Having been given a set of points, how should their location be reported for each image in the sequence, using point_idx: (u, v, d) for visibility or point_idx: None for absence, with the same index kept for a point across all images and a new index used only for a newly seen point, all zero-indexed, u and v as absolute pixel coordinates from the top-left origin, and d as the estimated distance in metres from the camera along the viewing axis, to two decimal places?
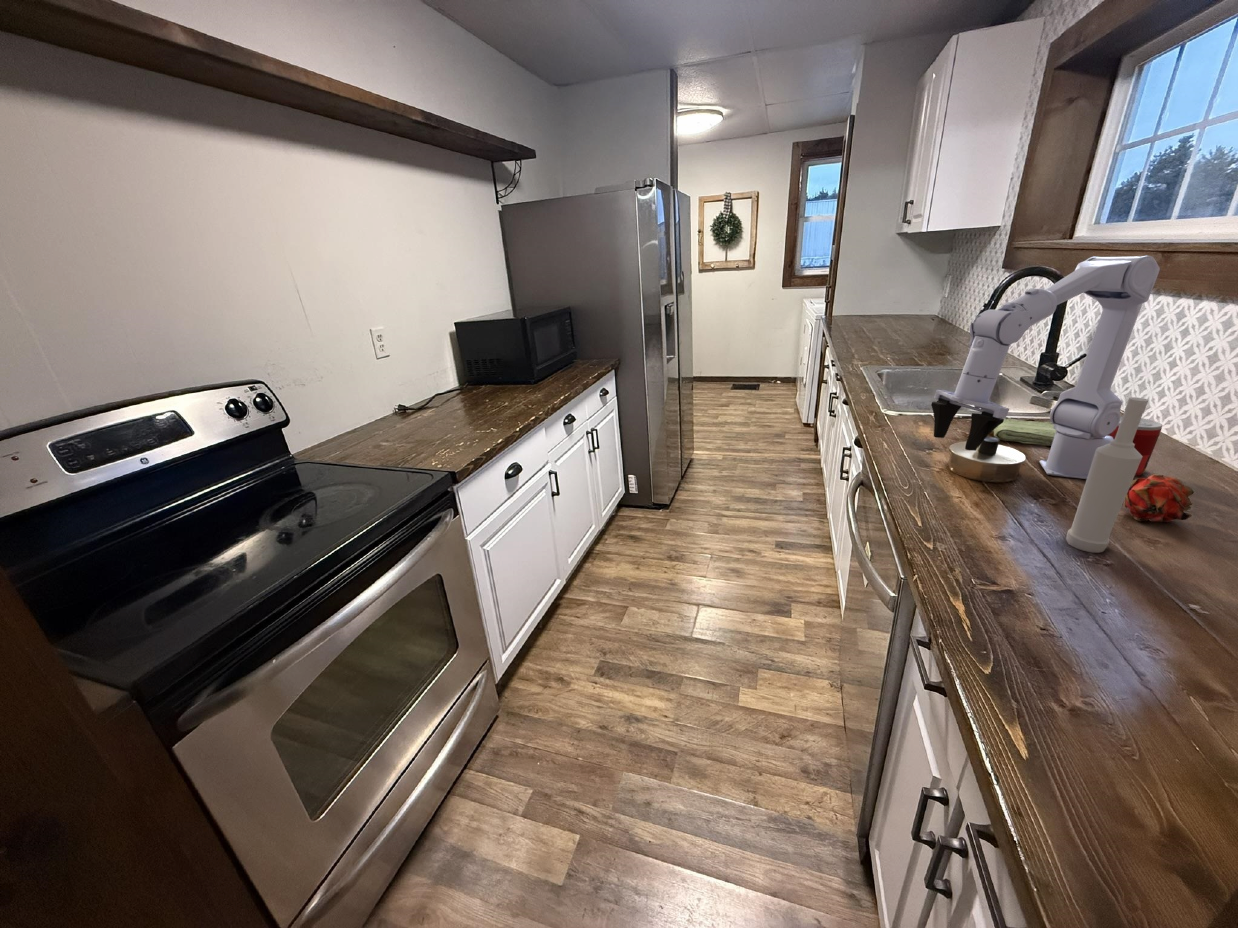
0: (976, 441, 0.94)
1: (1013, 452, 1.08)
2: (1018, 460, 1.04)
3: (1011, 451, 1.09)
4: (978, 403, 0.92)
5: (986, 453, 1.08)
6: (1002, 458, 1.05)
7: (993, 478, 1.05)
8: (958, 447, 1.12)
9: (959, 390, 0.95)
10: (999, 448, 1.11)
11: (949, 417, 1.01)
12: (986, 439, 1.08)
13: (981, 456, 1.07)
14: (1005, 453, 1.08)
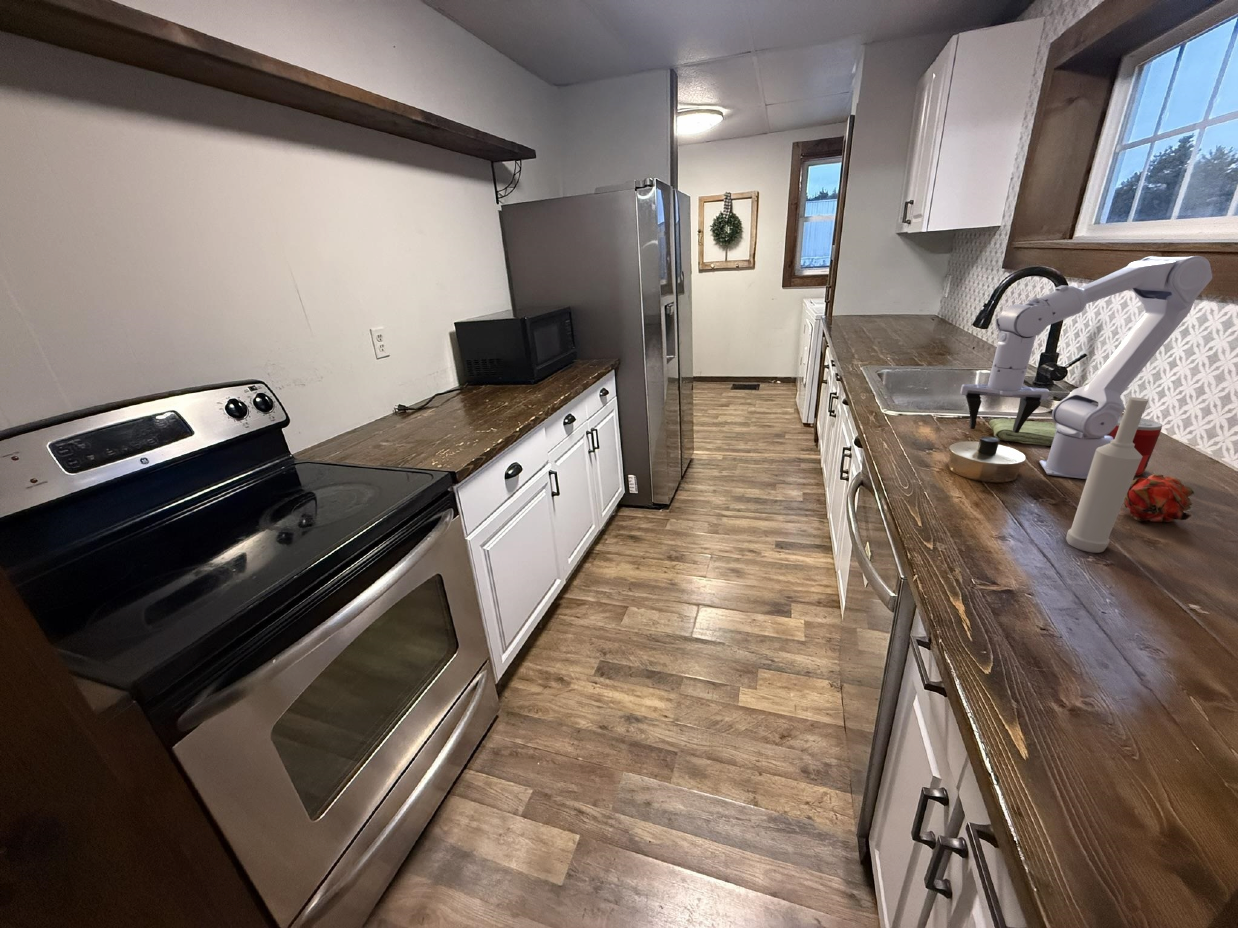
0: None
1: (1013, 452, 1.08)
2: (1018, 460, 1.04)
3: (1011, 451, 1.09)
4: (1027, 392, 1.00)
5: (986, 453, 1.08)
6: (1002, 458, 1.05)
7: (993, 478, 1.05)
8: (958, 447, 1.12)
9: (1005, 384, 1.00)
10: (999, 448, 1.11)
11: None
12: (986, 439, 1.08)
13: (981, 456, 1.07)
14: (1005, 453, 1.08)
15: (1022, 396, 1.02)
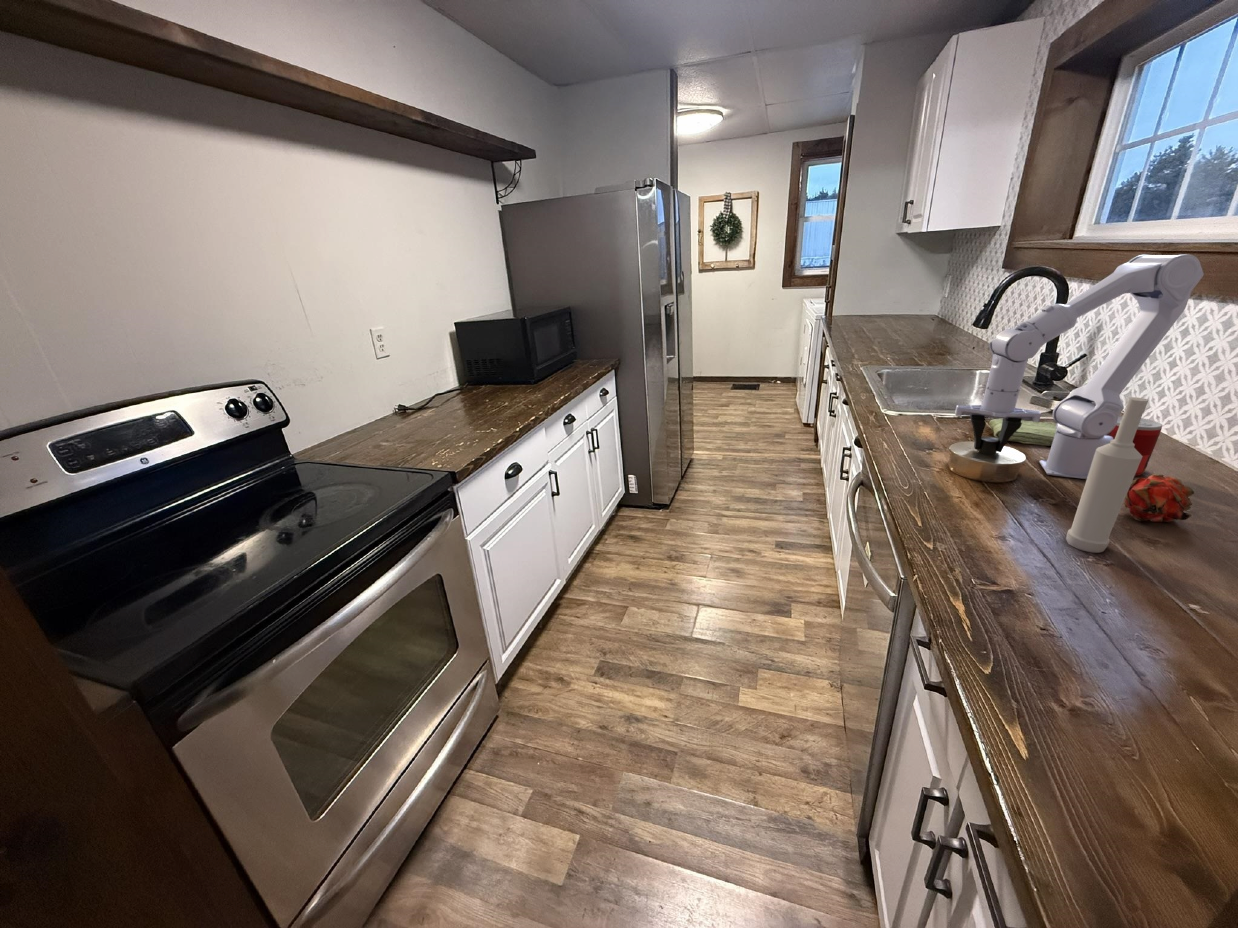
0: None
1: (1013, 452, 1.08)
2: (1018, 460, 1.04)
3: (1011, 451, 1.09)
4: (1019, 414, 1.02)
5: (986, 453, 1.08)
6: (1002, 458, 1.05)
7: (993, 478, 1.05)
8: (958, 447, 1.12)
9: (998, 406, 1.03)
10: None
11: None
12: (986, 439, 1.08)
13: (981, 456, 1.07)
14: (1006, 453, 1.08)
15: (1004, 417, 1.05)
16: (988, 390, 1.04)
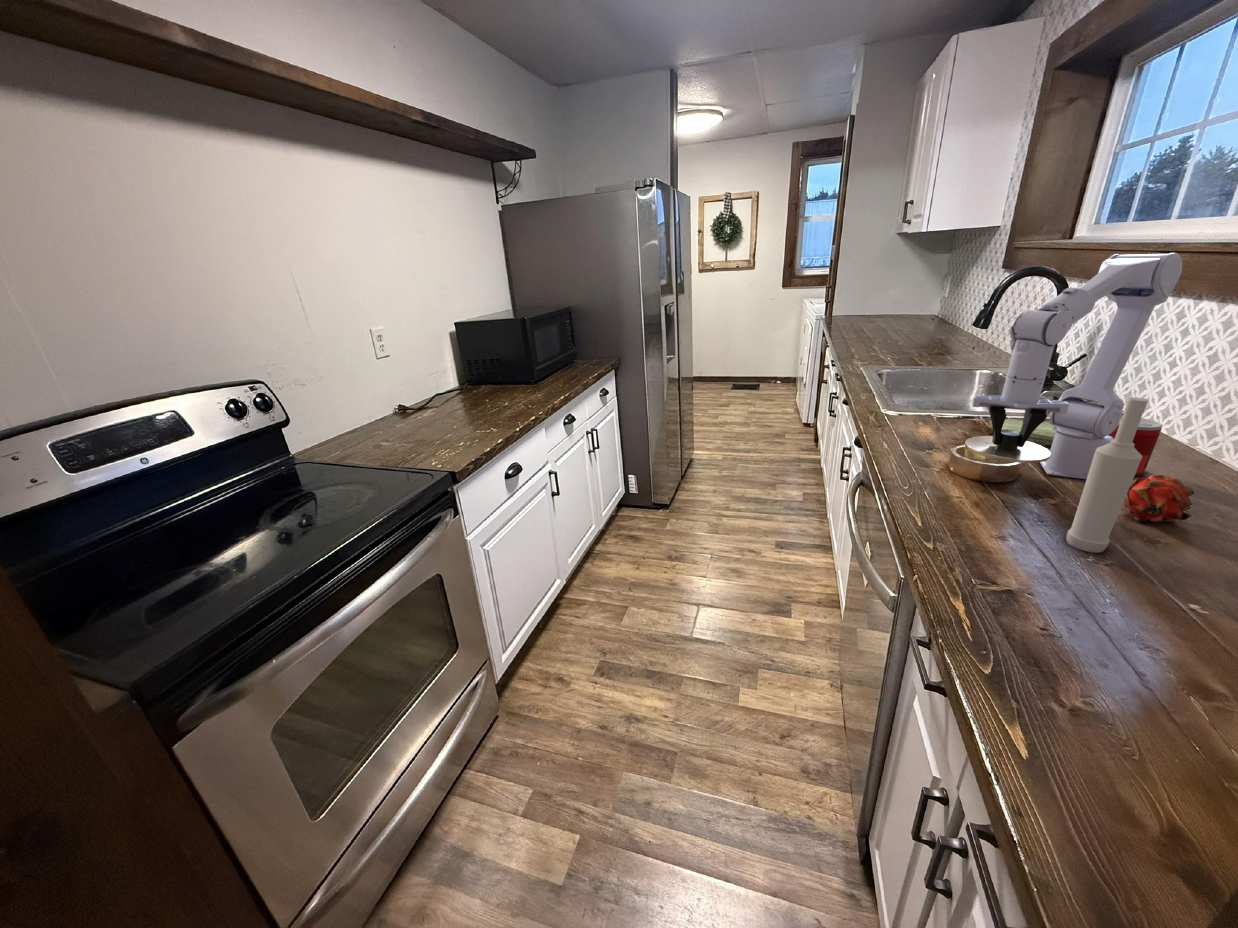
0: None
1: (1036, 447, 0.98)
2: (1043, 456, 0.94)
3: (1034, 446, 0.98)
4: (1044, 404, 0.92)
5: (1006, 448, 0.98)
6: (1024, 454, 0.95)
7: (993, 478, 1.05)
8: (975, 442, 1.02)
9: (1021, 396, 0.93)
10: None
11: None
12: (1006, 433, 0.98)
13: (1001, 452, 0.97)
14: (1028, 449, 0.97)
15: (1027, 408, 0.95)
16: (1009, 378, 0.94)
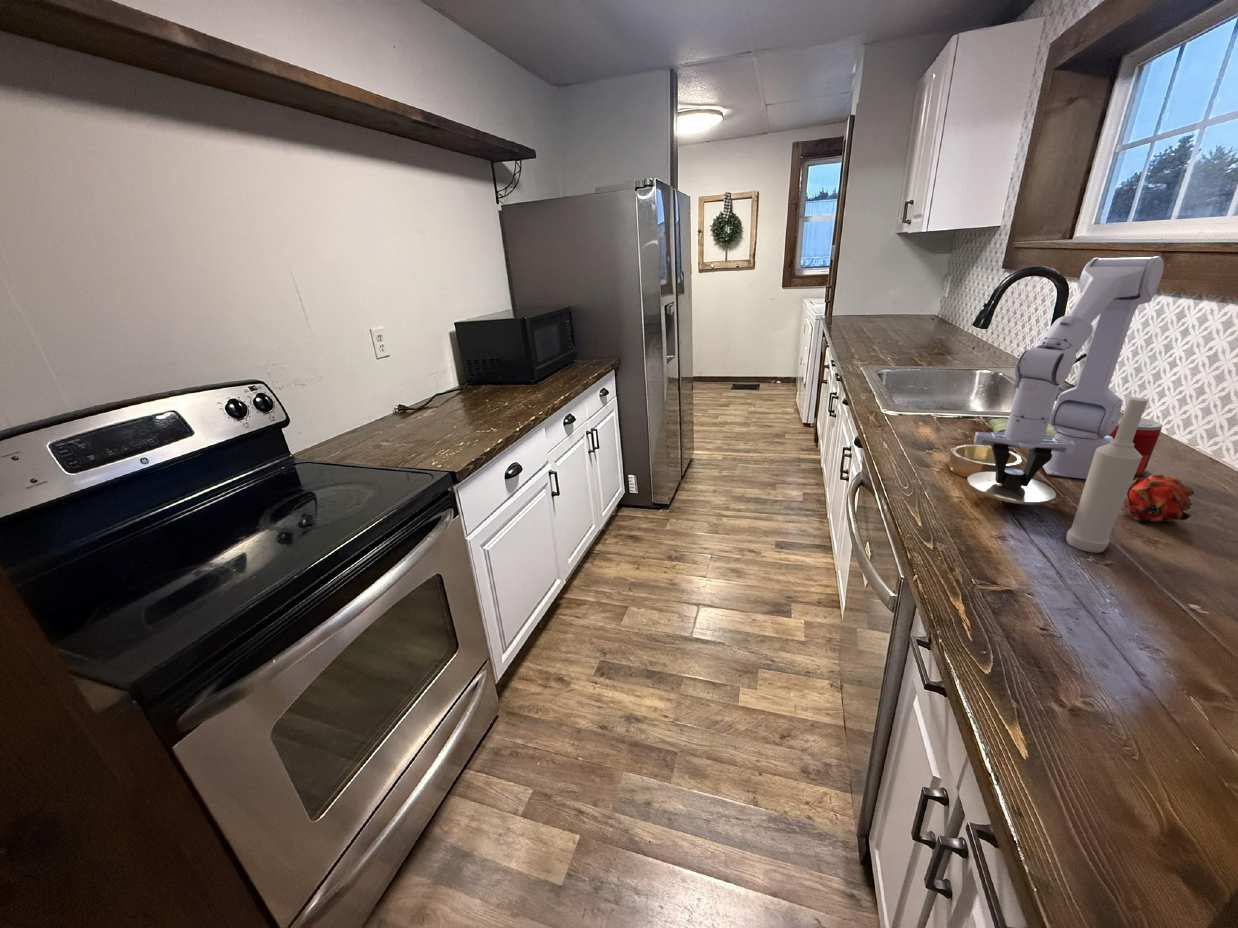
0: None
1: (1041, 486, 0.95)
2: (1048, 497, 0.91)
3: (1038, 485, 0.95)
4: (1049, 444, 0.89)
5: (1010, 488, 0.94)
6: (1029, 495, 0.92)
7: None
8: (977, 479, 0.99)
9: (1025, 436, 0.89)
10: None
11: None
12: (1010, 471, 0.94)
13: (1004, 491, 0.93)
14: (1032, 488, 0.94)
15: None
16: (1013, 417, 0.90)
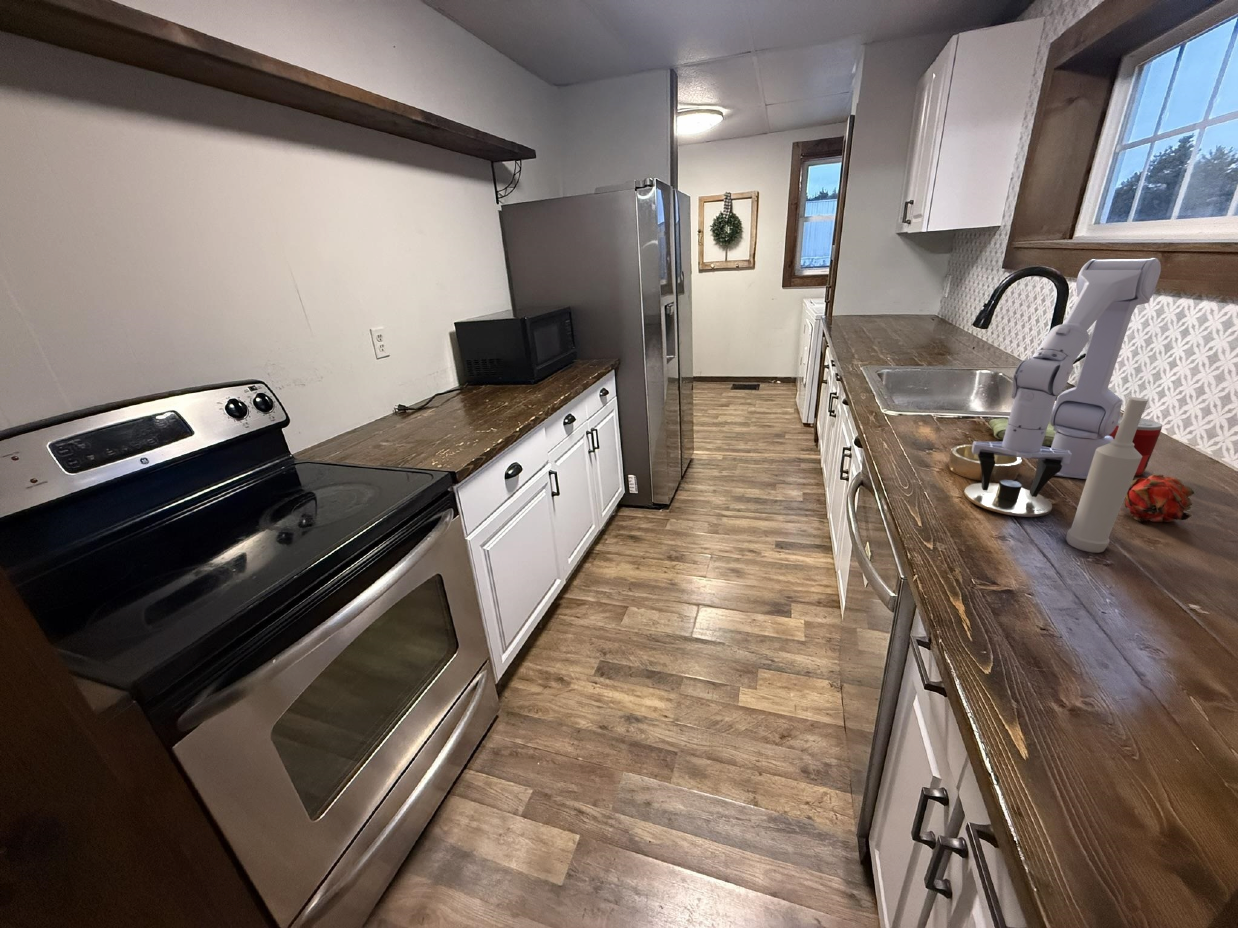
0: None
1: (1037, 498, 0.96)
2: (1044, 509, 0.92)
3: (1035, 497, 0.96)
4: (1046, 454, 0.90)
5: (1007, 499, 0.95)
6: (1025, 507, 0.93)
7: (993, 478, 1.05)
8: (974, 490, 1.00)
9: (1022, 445, 0.90)
10: (1021, 492, 0.98)
11: None
12: (1007, 483, 0.95)
13: (1001, 503, 0.94)
14: (1029, 500, 0.95)
15: (1041, 457, 0.92)
16: (1010, 426, 0.91)
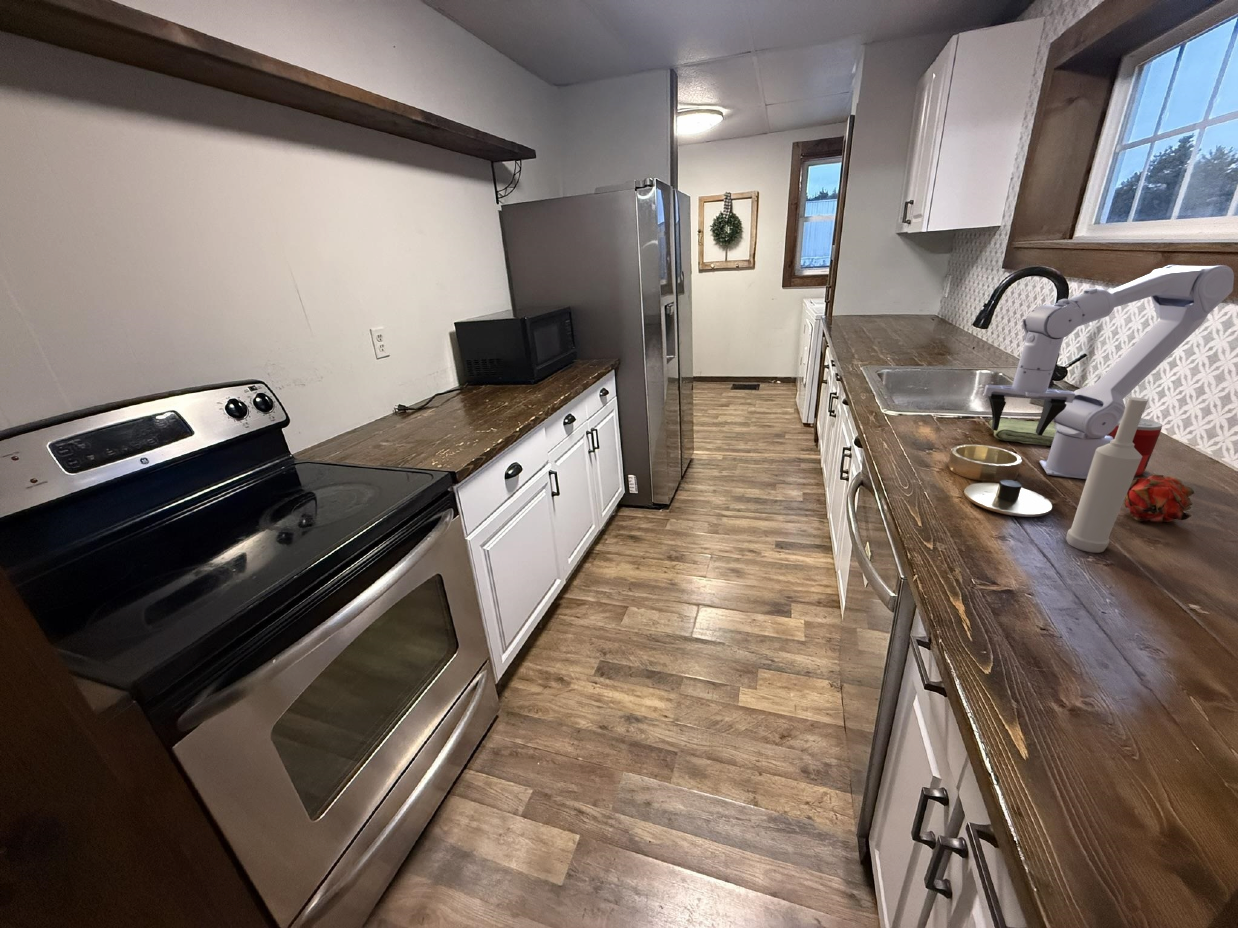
0: None
1: (1037, 498, 0.96)
2: (1044, 509, 0.92)
3: (1035, 497, 0.96)
4: (1053, 393, 0.99)
5: (1007, 499, 0.95)
6: (1025, 507, 0.93)
7: (993, 478, 1.05)
8: (974, 490, 1.00)
9: (1031, 386, 0.99)
10: (1021, 492, 0.98)
11: None
12: (1007, 483, 0.95)
13: (1001, 503, 0.94)
14: (1029, 500, 0.95)
15: (1047, 398, 1.01)
16: (1021, 369, 1.00)
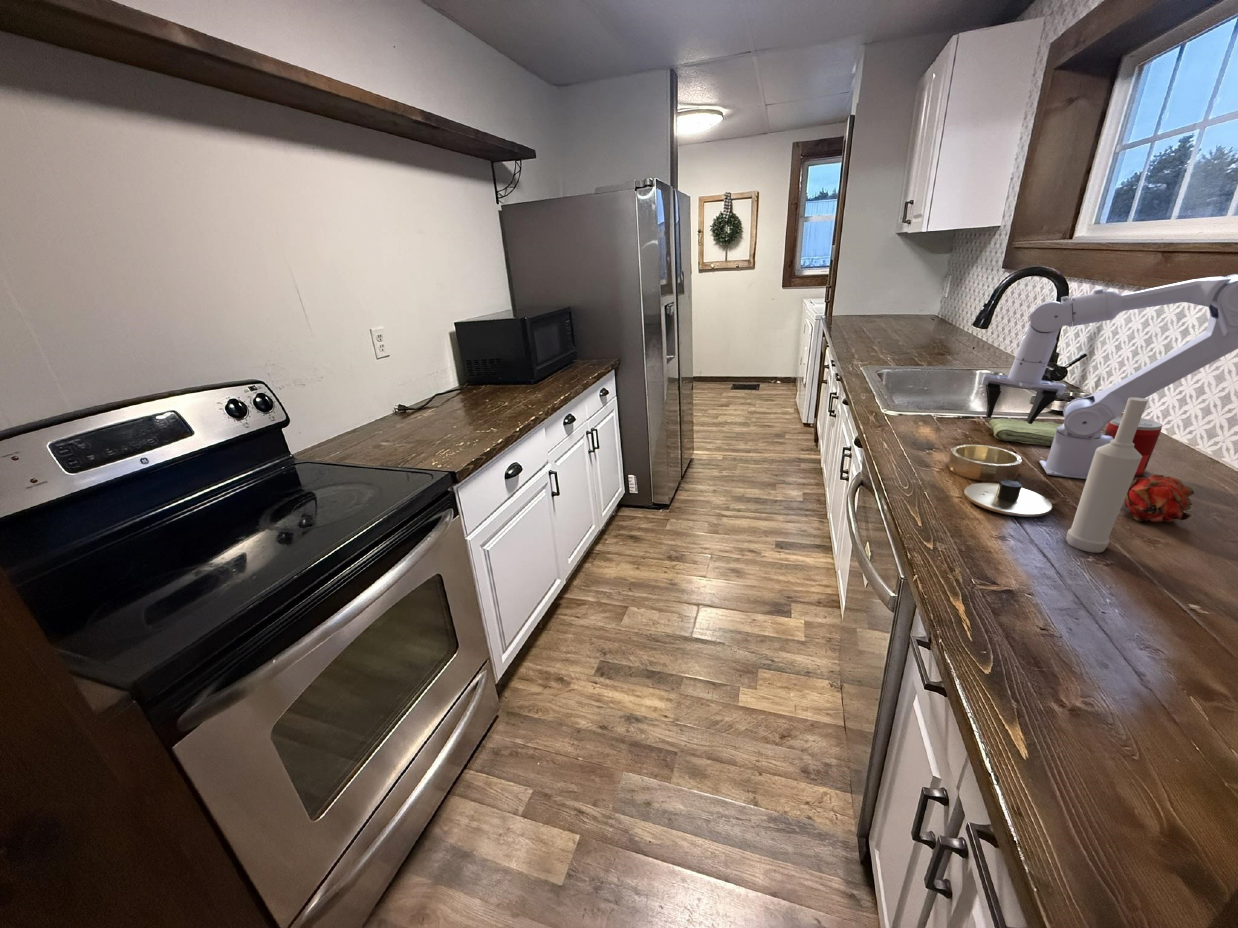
0: None
1: (1037, 498, 0.96)
2: (1044, 509, 0.92)
3: (1035, 497, 0.96)
4: (1045, 385, 1.05)
5: (1007, 499, 0.95)
6: (1025, 507, 0.93)
7: (993, 478, 1.05)
8: (974, 490, 1.00)
9: (1026, 377, 1.06)
10: (1021, 492, 0.98)
11: None
12: (1007, 483, 0.95)
13: (1001, 503, 0.94)
14: (1029, 500, 0.95)
15: (1039, 389, 1.07)
16: (1017, 360, 1.06)
